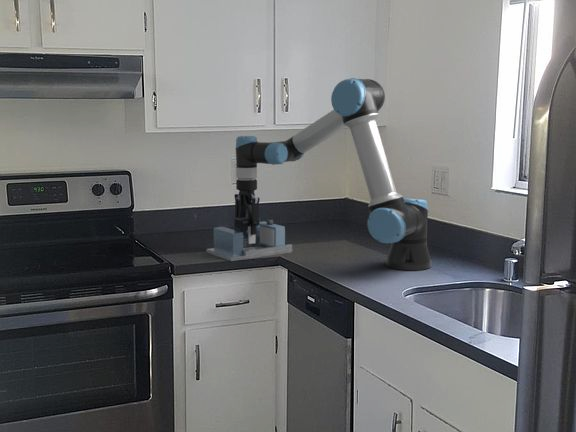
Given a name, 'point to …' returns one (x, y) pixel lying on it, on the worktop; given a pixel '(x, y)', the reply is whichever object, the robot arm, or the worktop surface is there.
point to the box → (242, 226)
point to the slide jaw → (271, 234)
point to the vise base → (253, 252)
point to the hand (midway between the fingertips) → (247, 241)
